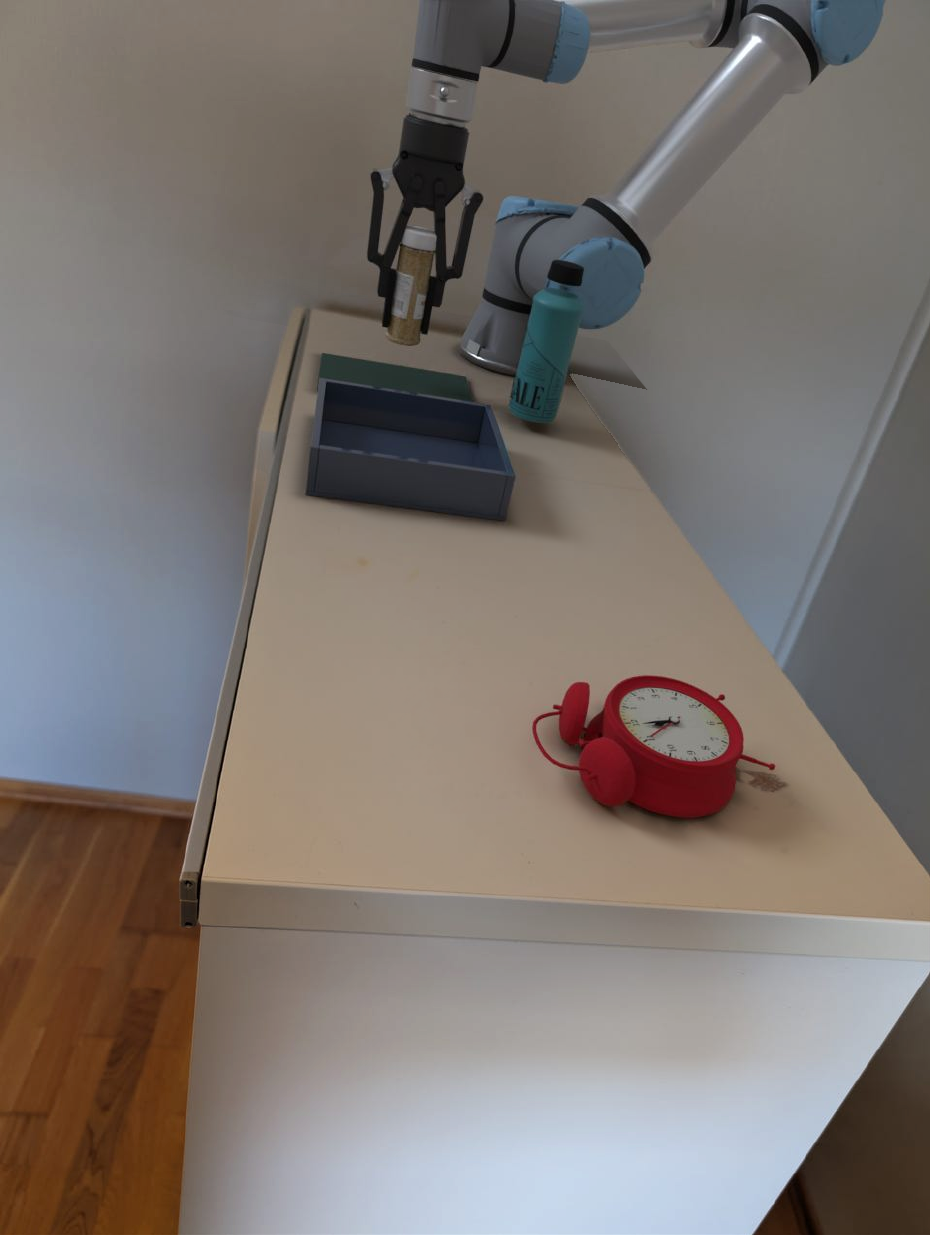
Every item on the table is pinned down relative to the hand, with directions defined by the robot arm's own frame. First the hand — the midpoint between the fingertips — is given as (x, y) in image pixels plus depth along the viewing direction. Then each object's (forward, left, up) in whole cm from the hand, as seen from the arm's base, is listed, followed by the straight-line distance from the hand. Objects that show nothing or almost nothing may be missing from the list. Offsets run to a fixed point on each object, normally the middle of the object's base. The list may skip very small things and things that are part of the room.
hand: (404, 327), depth 109 cm
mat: (0, 0, -8) cm, 8 cm away
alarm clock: (-14, +70, -8) cm, 72 cm away
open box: (0, +26, -8) cm, 27 cm away
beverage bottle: (-17, +7, -8) cm, 20 cm away
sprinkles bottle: (0, 0, -2) cm, 2 cm away
